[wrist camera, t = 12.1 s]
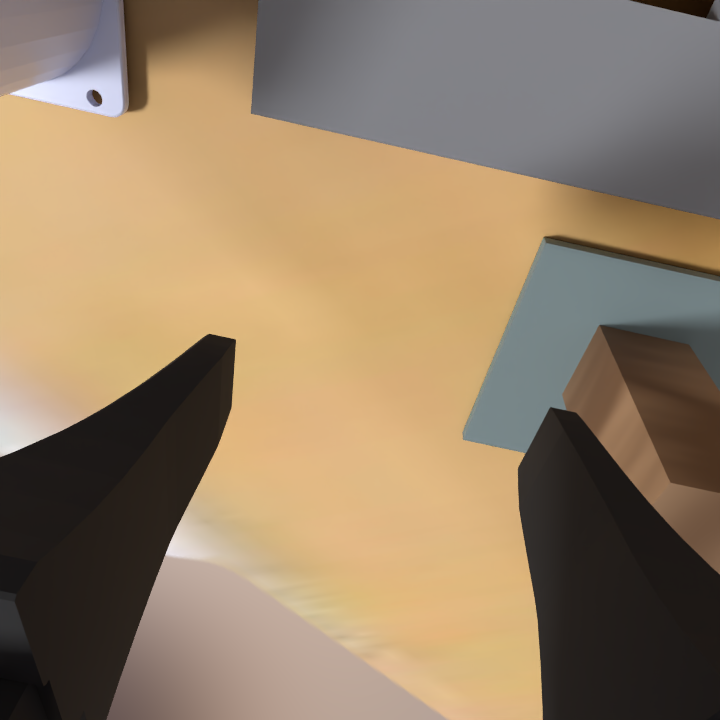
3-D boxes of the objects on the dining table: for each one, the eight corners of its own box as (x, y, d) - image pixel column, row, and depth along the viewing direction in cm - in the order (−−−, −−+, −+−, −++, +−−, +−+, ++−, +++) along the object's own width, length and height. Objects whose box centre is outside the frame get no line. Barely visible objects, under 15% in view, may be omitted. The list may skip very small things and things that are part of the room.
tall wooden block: (562, 394, 24) (610, 558, 17) (599, 324, 22) (670, 482, 15) (643, 412, 24) (722, 582, 17) (688, 344, 22) (797, 509, 15)
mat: (462, 432, 26) (463, 439, 26) (543, 236, 20) (545, 242, 20) (668, 476, 26) (671, 484, 26) (807, 296, 21) (815, 302, 20)
